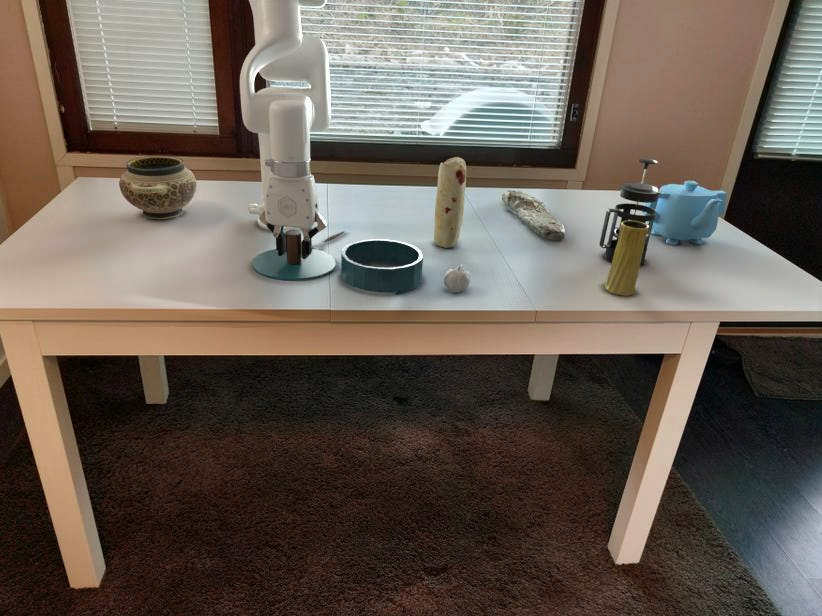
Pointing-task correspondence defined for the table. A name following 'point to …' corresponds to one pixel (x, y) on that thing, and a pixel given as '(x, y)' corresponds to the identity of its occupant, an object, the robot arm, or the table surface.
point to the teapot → (687, 212)
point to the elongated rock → (534, 214)
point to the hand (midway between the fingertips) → (294, 254)
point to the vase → (627, 258)
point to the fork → (331, 238)
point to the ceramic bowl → (158, 185)
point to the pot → (382, 277)
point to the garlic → (457, 279)
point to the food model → (449, 202)
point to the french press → (632, 193)
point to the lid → (293, 262)
